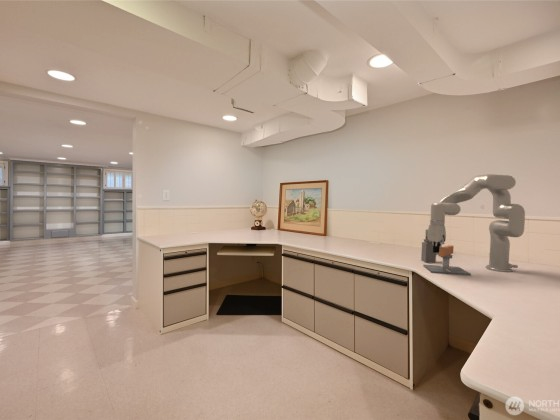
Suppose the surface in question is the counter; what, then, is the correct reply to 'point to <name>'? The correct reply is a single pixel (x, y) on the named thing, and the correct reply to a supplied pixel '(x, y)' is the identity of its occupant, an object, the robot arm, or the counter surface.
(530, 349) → the counter surface
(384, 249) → the counter surface
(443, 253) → the orange brown block
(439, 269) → the post board
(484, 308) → the counter surface
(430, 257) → the perfume bottle
